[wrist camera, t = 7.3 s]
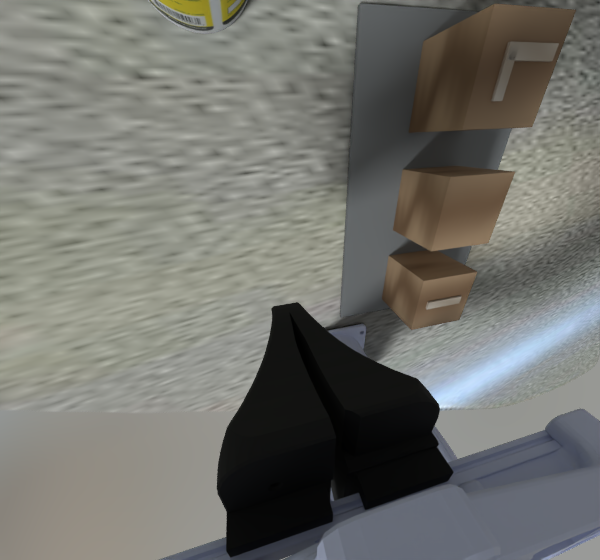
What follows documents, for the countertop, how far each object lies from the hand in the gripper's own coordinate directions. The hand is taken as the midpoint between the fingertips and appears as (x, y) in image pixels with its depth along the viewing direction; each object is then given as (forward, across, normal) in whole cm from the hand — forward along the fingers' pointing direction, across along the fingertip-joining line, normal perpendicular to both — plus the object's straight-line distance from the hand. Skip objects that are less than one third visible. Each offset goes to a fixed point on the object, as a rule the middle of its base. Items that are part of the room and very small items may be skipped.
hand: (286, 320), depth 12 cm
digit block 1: (+9, -14, +4) cm, 17 cm away
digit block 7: (+9, -14, -10) cm, 20 cm away
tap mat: (+9, -14, -3) cm, 17 cm away
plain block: (+9, -14, -3) cm, 17 cm away
